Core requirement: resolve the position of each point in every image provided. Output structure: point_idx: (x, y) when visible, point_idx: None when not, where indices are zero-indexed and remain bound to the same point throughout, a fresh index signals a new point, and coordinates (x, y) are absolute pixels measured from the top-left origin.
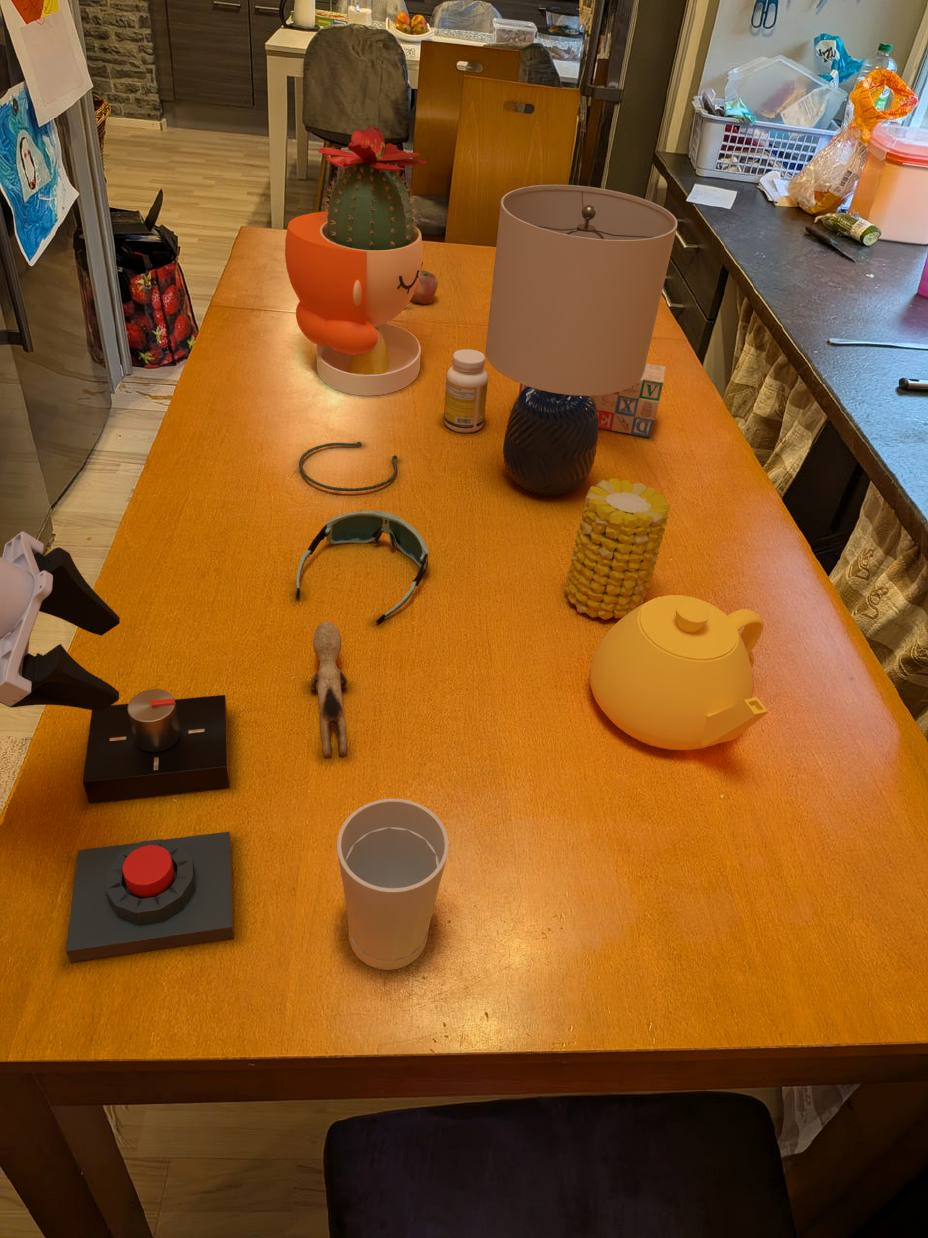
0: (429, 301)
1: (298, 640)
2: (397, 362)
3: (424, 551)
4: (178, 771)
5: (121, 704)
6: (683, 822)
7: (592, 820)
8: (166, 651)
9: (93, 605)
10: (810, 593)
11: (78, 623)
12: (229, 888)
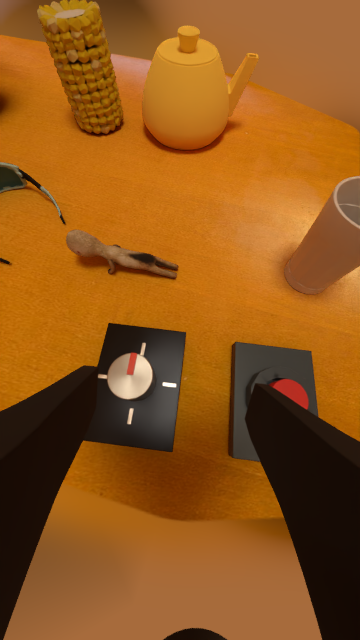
0: None
1: (56, 272)
2: None
3: (15, 167)
4: (181, 368)
5: None
6: (258, 149)
7: (250, 177)
8: (18, 368)
9: (67, 406)
10: (135, 61)
11: (75, 449)
12: (282, 348)
